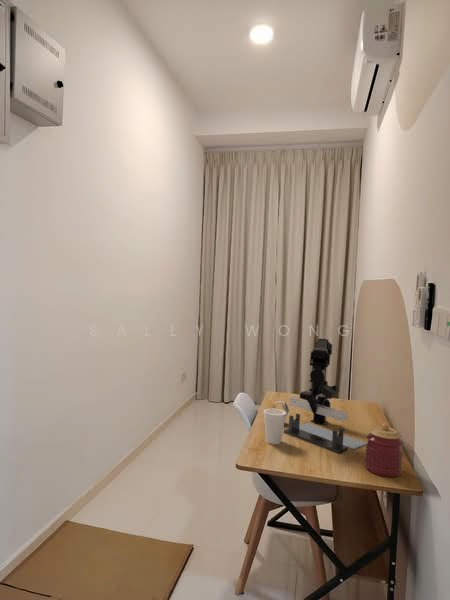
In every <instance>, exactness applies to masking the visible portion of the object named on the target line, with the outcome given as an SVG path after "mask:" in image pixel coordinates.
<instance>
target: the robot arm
mask: <svg viewBox="0 0 450 600" xmlns="http://www.w3.org/2000/svg"><path fill="white" fill-rule="evenodd" d="M331 355H333V344H332V343H331V342H330V341H329V339H328V338H318V339H317V341H316V342H315V343H314V348H313V349H312V350H311V351H310V359H309V366H311V367H312V370H311V372H310V374H309V376H310V377H309V378H310V379H309V382H310V383H311V387H310V388H309V390H305V391H301V392H299V399H302V400H306V401H308V403H309V405H310V407H311V410H312V412H311V413H312V414H313V415H312V416H313V419H312V420H310V422H311V423H314V424H317V425H320V426H322V425H326V424H329V421H327V417H326V416H323V415H320V414H317V413H316V408H317V404H319V405H323V406H326V407H330V408H331V402H330V400H331V399H335V397H336V395H338V394H339V386H338V385H336V384H335V385H334V384H333V385H332V386H331V385H329V384H328V381H327V370H328V369H327V368H328V367H329V366H330V362H331Z"/></svg>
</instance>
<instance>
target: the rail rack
mask: <svg viewBox="0 0 450 600" xmlns="http://www.w3.org/2000/svg"><path fill="white" fill-rule="evenodd" d="M288 417H289V419H288V428H287V429H283V434H286V435H289V436H291V437H294V438H297V439H299V440H302V441H305V442H307V443H309V444H312V445H315V446H318V447H320V448H322V449H325V450H328V451H330V452H334V453H336V454H338V455H339V454H341V453H344V452H346V451H349V448H348V447H347V446H344V445H343V435H344V430H345V428H342V427H339V428H338V430H336V429H333V430H332V431H333V437H332V441H330V440H327V439H324V438H322V437H319V436H316V435H313V434H311V433H308V432H305V431H302V430H300V429H299V425H301V424H300V421H301V414H300V413H295V417H294V415H292V414H290V415H289V416H288ZM294 418H295V419H294ZM337 433H338V434H337Z"/></svg>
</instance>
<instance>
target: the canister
mask: <svg viewBox="0 0 450 600" xmlns="http://www.w3.org/2000/svg"><path fill="white" fill-rule="evenodd" d="M368 432H369V433H368V434H367V435H366V436H365V437H366V439H367V442H365V443H366V445H365V446H366V447H365V458H364V465H365V469H366V470H367V471H368V472H370V473H371V474H374V475H376V476H380V477H385V478H396V477H399V476H400V475H401V473H402V470H403V467H402V464H403V453H404V451H403V448H402V447H403V445H404V440H403V439H402V438H401V437H402V434H401V433H400V432H398V430H397V429H395V428H393V427H390V425H389V424H388V423H385V422H384V423H382V425H376V426H373V427H371V428H370V429H368Z"/></svg>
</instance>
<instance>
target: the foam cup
mask: <svg viewBox="0 0 450 600" xmlns="http://www.w3.org/2000/svg"><path fill="white" fill-rule="evenodd" d="M263 417H264V419H263V420H264V431H265V442H266V443H268V444H270V445H279V444H281V442H282V437H283V434H284V427H285V423H286V418H287V416H286V412H285V410H284V409H280V408H275V409H273V408H267V409H264V410H263ZM284 422H285V423H284Z"/></svg>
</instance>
